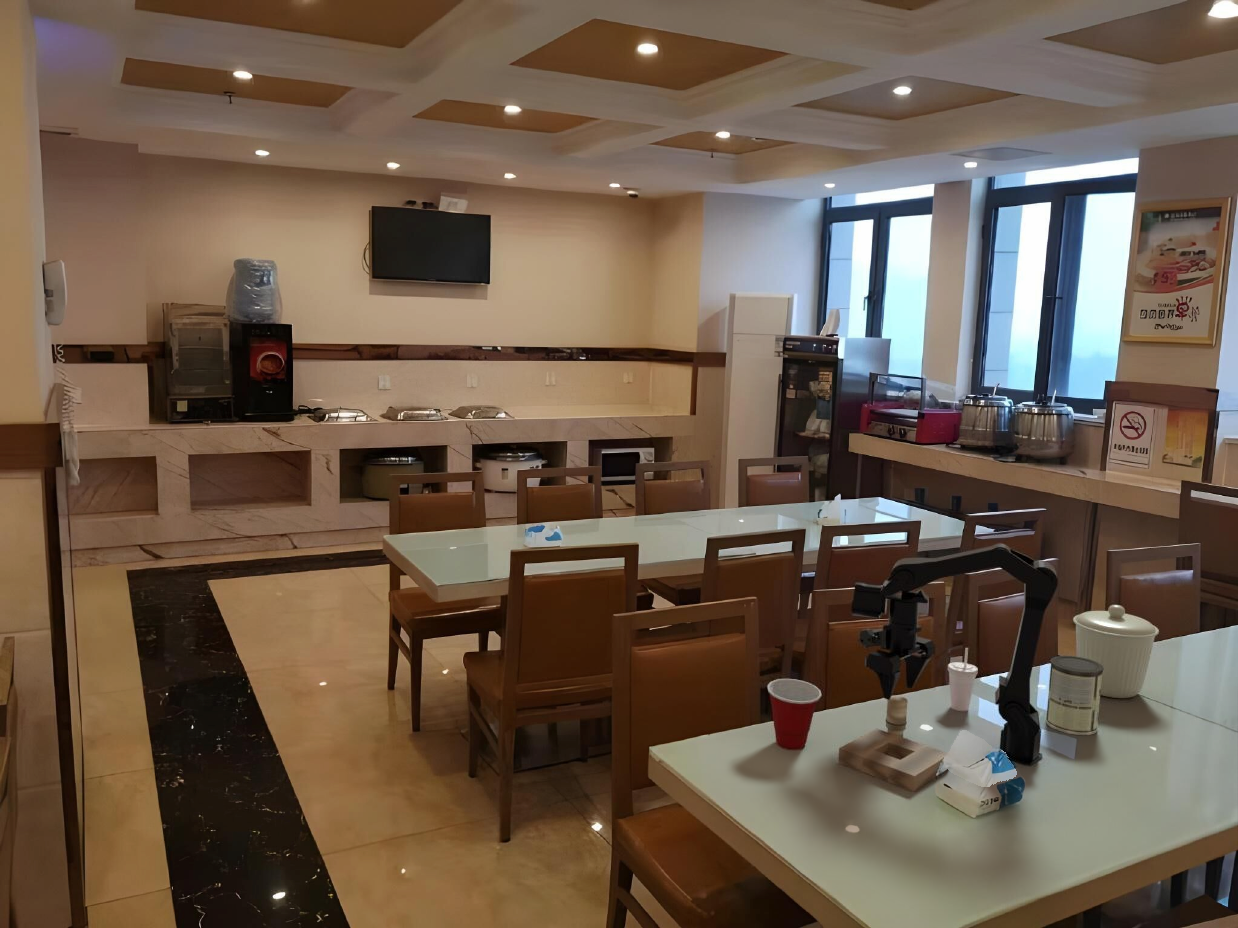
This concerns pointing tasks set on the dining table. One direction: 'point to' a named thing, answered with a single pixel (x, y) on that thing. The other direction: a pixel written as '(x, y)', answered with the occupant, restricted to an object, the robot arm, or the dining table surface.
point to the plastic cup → (792, 711)
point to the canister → (1116, 648)
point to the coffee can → (1074, 695)
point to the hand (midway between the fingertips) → (898, 693)
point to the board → (892, 759)
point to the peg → (896, 715)
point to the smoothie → (961, 683)
